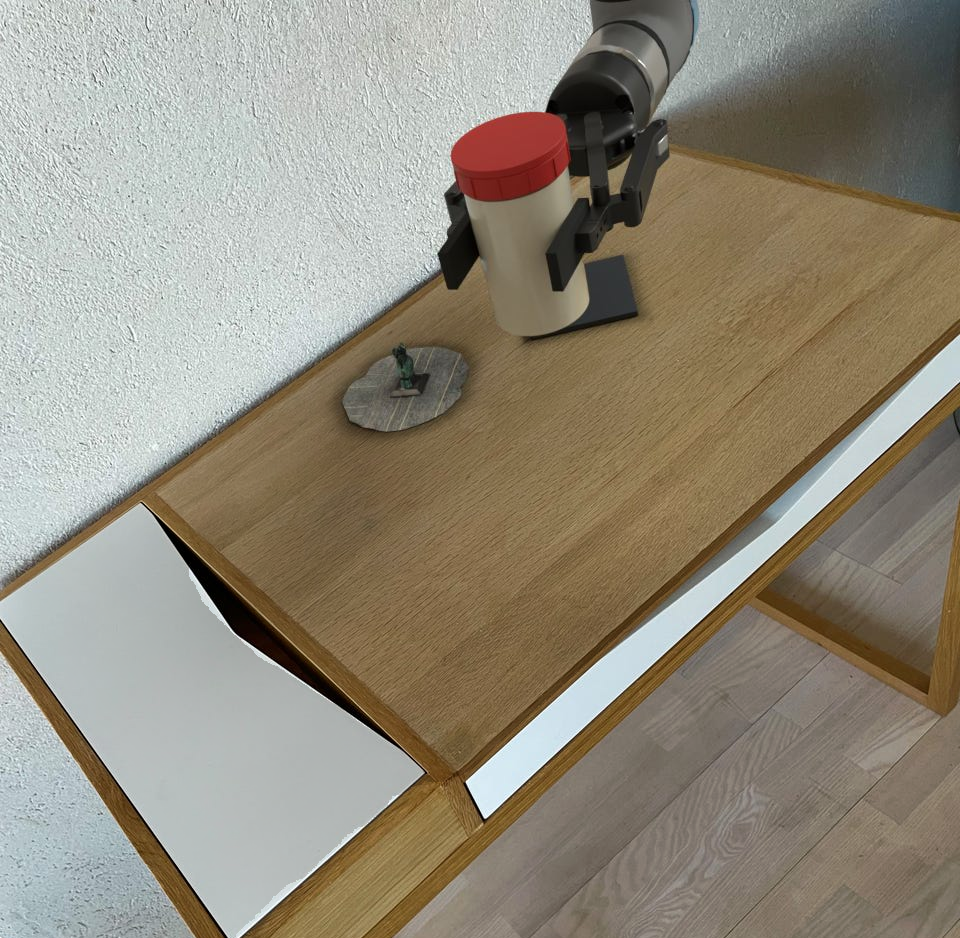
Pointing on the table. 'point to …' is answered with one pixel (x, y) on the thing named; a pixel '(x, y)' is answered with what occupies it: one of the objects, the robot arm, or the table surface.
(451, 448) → the table surface
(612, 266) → the mat
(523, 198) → the jar
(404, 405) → the sculpture
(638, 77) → the robot arm
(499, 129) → the lid
